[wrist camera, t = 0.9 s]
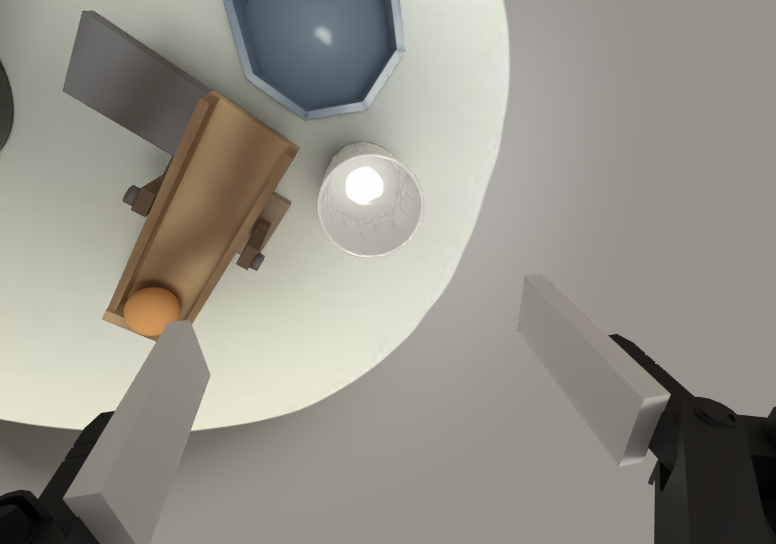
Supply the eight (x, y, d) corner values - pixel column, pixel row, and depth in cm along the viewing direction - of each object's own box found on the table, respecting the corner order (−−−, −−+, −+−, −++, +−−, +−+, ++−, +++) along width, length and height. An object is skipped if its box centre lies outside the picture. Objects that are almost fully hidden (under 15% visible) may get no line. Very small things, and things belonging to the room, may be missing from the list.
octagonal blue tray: (215, 49, 31) (198, 45, 27) (292, -108, 27) (285, -139, 23) (341, 139, 35) (342, 147, 31) (422, 14, 31) (434, 5, 28)
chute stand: (152, 202, 35) (106, 234, 28) (184, 137, 33) (143, 154, 26) (256, 257, 39) (238, 298, 32) (291, 202, 37) (280, 233, 30)
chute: (47, 247, 33) (4, 279, 29) (116, 10, 24) (65, 11, 20) (196, 314, 38) (176, 349, 34) (304, 139, 28) (292, 160, 25)
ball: (136, 294, 34) (108, 331, 31) (146, 269, 31) (116, 307, 28) (182, 314, 35) (159, 351, 32) (194, 292, 33) (171, 330, 30)
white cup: (316, 210, 38) (311, 251, 29) (326, 127, 34) (324, 144, 26) (393, 222, 39) (411, 263, 31) (410, 143, 36) (435, 164, 27)
